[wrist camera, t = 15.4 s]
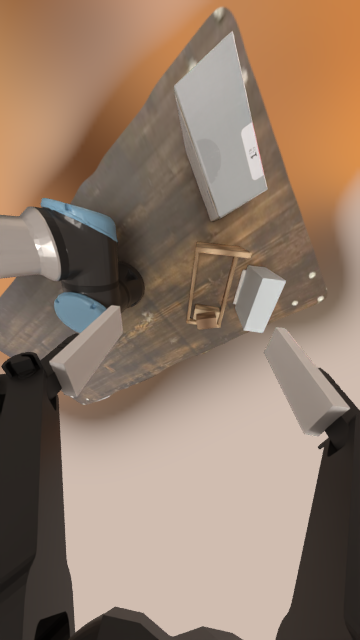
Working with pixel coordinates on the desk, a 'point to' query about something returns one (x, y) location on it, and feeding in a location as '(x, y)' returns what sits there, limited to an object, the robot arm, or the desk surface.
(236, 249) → the rack
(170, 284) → the desk surface
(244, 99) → the hard drive box
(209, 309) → the offcut lower
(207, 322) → the offcut upper
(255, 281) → the grey rectangular block
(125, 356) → the desk surface
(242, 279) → the mat
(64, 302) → the robot arm
